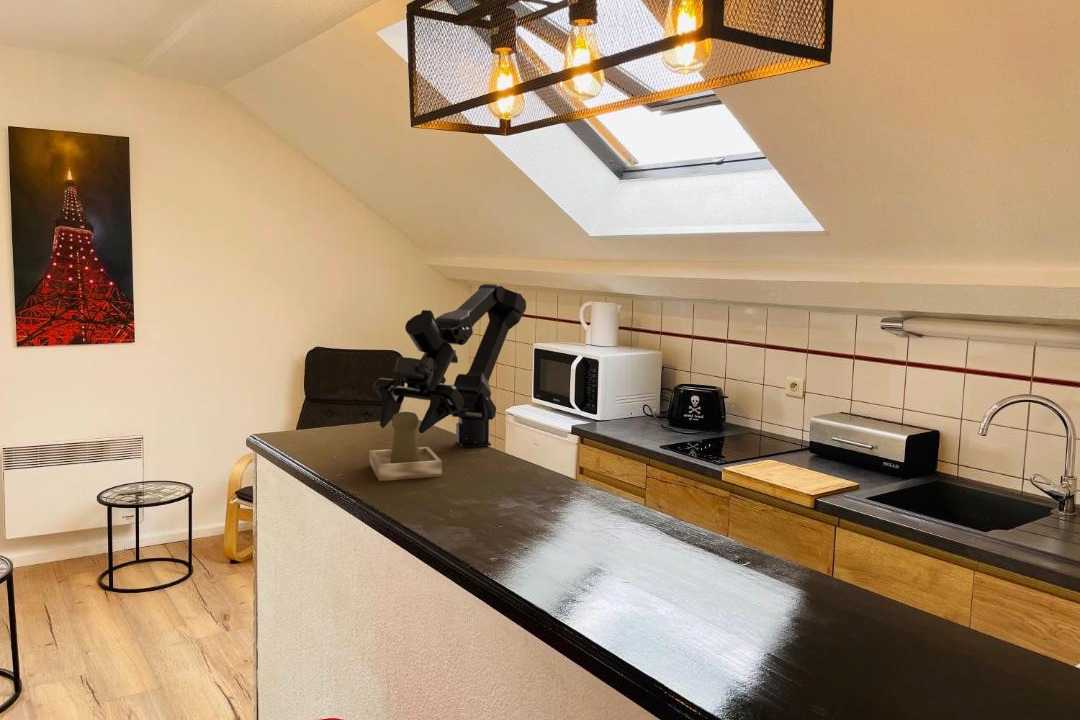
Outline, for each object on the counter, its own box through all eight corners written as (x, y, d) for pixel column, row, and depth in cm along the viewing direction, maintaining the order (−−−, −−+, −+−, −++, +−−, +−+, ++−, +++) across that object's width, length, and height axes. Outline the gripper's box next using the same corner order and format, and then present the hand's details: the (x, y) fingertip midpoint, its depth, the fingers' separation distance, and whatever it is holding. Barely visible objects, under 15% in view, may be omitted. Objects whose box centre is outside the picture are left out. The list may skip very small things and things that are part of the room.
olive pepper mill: (383, 468, 165) (383, 413, 163) (403, 462, 170) (403, 408, 169) (407, 472, 162) (407, 416, 160) (427, 466, 167) (427, 411, 166)
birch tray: (428, 461, 173) (428, 446, 173) (441, 476, 162) (441, 461, 162) (369, 465, 169) (369, 450, 169) (379, 481, 158) (379, 465, 158)
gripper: (378, 338, 170) (343, 400, 162) (456, 344, 162) (423, 410, 153) (401, 372, 178) (369, 432, 170) (477, 379, 170) (447, 443, 161)
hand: (400, 429), depth 163 cm, fingers open, 9 cm apart
